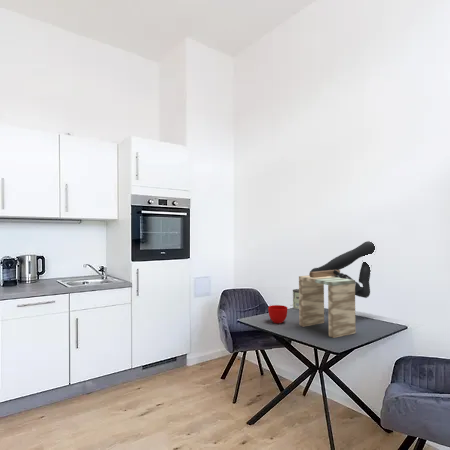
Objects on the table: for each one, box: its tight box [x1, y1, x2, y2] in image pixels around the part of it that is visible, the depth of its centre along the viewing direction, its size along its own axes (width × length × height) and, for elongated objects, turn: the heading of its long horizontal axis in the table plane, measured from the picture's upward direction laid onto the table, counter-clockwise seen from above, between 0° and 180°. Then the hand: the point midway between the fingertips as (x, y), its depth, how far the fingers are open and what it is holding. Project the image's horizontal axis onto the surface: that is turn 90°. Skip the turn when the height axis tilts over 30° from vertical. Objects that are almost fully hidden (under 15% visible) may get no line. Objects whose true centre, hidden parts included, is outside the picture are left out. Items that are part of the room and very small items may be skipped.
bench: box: [298, 275, 357, 339], centre depth 216 cm, size 30×18×32 cm, turn 28°
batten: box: [309, 269, 341, 278], centre depth 226 cm, size 4×23×3 cm, turn 118°
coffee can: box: [292, 288, 299, 310], centre depth 274 cm, size 10×10×14 cm
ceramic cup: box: [267, 304, 288, 324], centre depth 235 cm, size 13×17×10 cm
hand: (331, 270), depth 228 cm, fingers closed on batten, 4 cm apart
